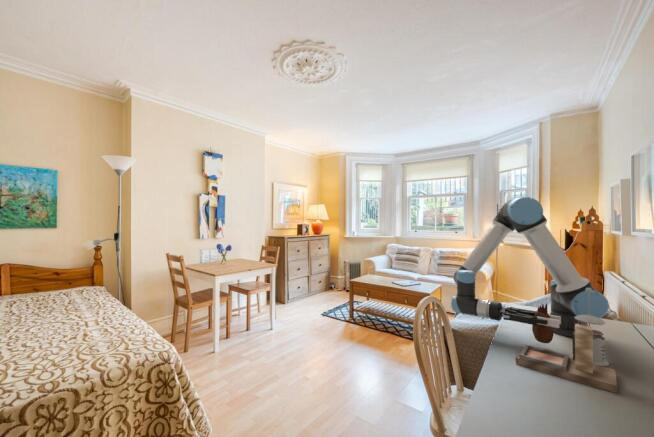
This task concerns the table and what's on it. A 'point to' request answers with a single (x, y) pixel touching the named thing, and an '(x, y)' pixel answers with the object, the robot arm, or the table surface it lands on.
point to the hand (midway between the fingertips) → (559, 322)
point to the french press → (595, 336)
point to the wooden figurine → (542, 327)
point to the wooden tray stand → (571, 361)
